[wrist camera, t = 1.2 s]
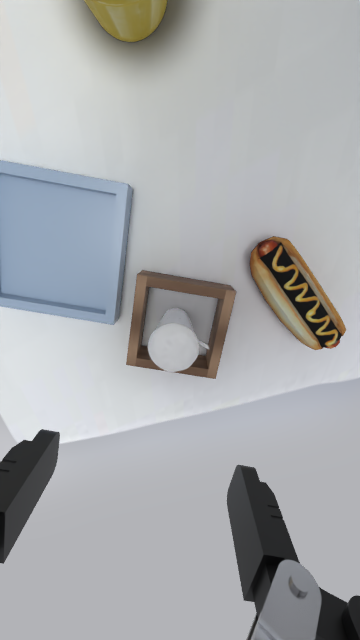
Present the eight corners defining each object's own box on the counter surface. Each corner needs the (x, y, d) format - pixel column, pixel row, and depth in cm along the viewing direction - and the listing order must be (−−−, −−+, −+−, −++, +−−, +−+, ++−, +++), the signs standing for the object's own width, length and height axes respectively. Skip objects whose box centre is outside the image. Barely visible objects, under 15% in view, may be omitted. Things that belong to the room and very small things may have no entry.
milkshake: (206, 331, 32) (216, 371, 22) (163, 343, 32) (155, 388, 23) (195, 295, 30) (201, 321, 21) (151, 308, 31) (137, 340, 21)
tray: (-7, 162, 26) (-26, 155, 24) (132, 188, 27) (128, 184, 25) (-2, 298, 31) (-18, 303, 28) (119, 318, 31) (113, 324, 29)
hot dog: (296, 346, 32) (315, 365, 27) (232, 258, 29) (242, 262, 24) (332, 322, 31) (359, 337, 26) (271, 228, 28) (289, 226, 23)
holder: (142, 270, 29) (137, 274, 26) (230, 285, 30) (236, 291, 27) (131, 351, 32) (126, 364, 29) (212, 364, 33) (215, 378, 29)
